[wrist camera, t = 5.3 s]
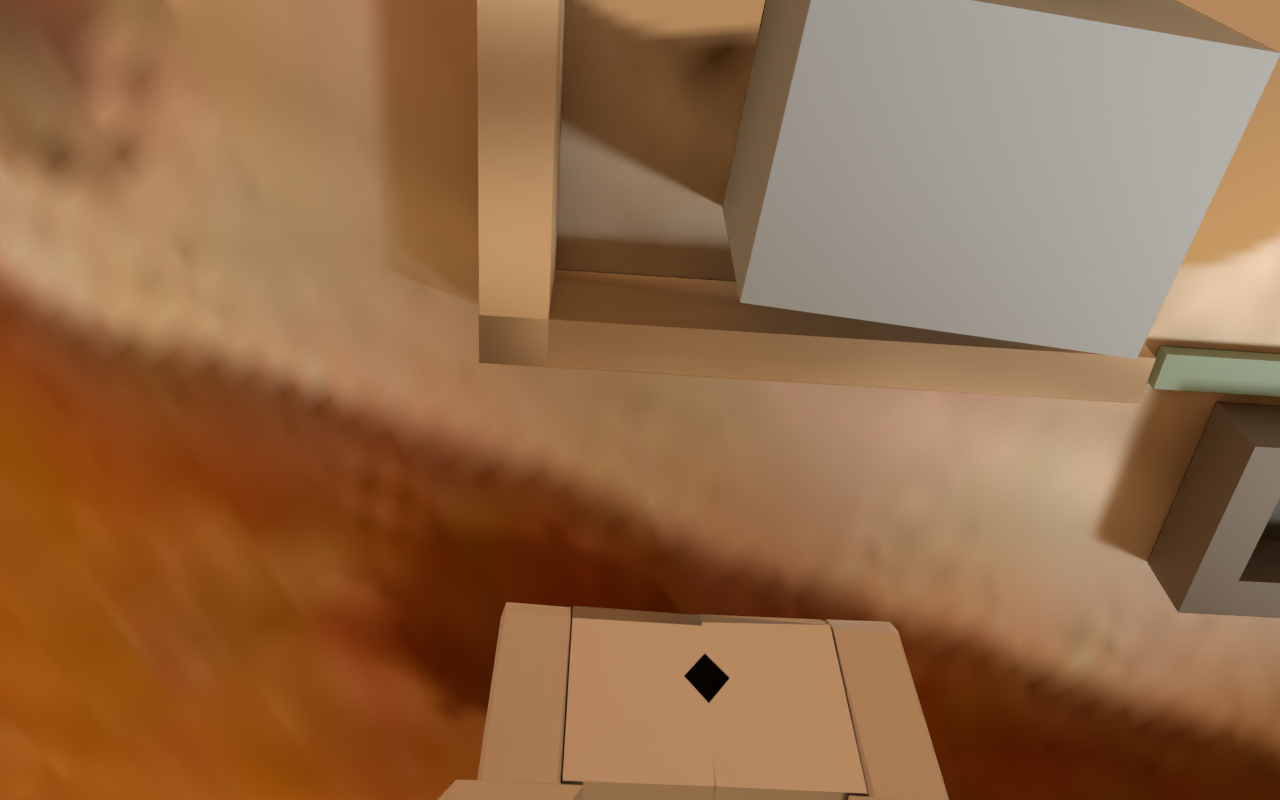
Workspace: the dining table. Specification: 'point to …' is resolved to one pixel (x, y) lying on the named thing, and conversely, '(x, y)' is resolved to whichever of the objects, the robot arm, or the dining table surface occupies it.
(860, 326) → the beige c-shaped frame
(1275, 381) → the frame
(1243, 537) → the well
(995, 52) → the block
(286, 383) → the dining table surface
